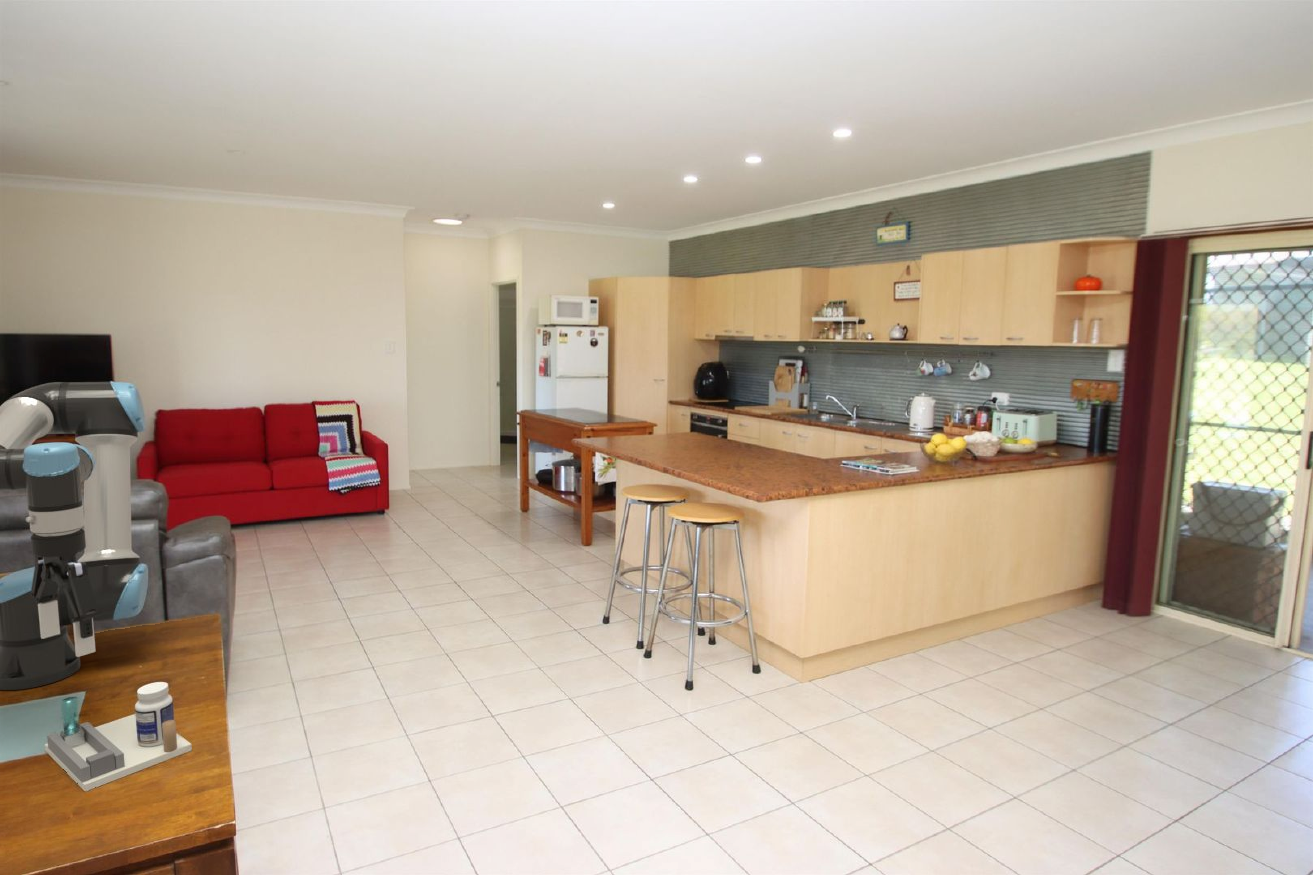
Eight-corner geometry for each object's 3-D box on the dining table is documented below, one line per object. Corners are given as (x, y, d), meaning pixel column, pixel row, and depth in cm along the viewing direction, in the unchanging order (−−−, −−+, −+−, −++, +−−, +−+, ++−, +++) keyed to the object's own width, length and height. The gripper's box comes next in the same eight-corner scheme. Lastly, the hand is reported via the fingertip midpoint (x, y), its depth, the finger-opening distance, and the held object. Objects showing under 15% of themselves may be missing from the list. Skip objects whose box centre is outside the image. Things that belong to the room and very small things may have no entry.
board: (45, 750, 134) (42, 717, 133) (146, 715, 147) (144, 685, 146) (84, 791, 122) (82, 755, 122) (191, 750, 135) (189, 717, 134)
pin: (60, 744, 134) (56, 700, 133) (79, 738, 136) (75, 694, 135) (65, 750, 132) (62, 704, 131) (84, 743, 134) (81, 699, 133)
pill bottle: (168, 727, 140) (165, 677, 139) (180, 738, 137) (176, 686, 135) (132, 739, 136) (129, 687, 135) (143, 751, 132) (139, 698, 131)
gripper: (1, 524, 136) (12, 635, 139) (65, 547, 123) (76, 669, 126) (51, 515, 142) (60, 622, 145) (116, 537, 130) (125, 653, 133)
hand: (67, 644), depth 136 cm, fingers open, 13 cm apart
